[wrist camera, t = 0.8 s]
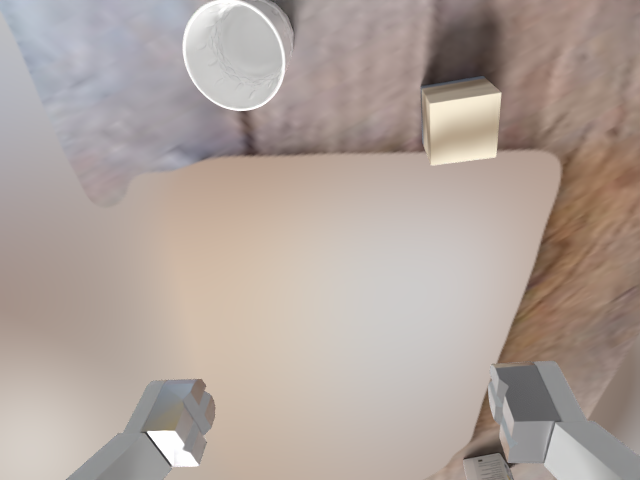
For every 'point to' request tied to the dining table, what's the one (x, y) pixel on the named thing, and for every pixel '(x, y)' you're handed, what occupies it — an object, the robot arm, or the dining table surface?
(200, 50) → the white cup
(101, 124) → the dining table surface
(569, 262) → the dining table surface
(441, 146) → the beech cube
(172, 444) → the robot arm
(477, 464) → the container
